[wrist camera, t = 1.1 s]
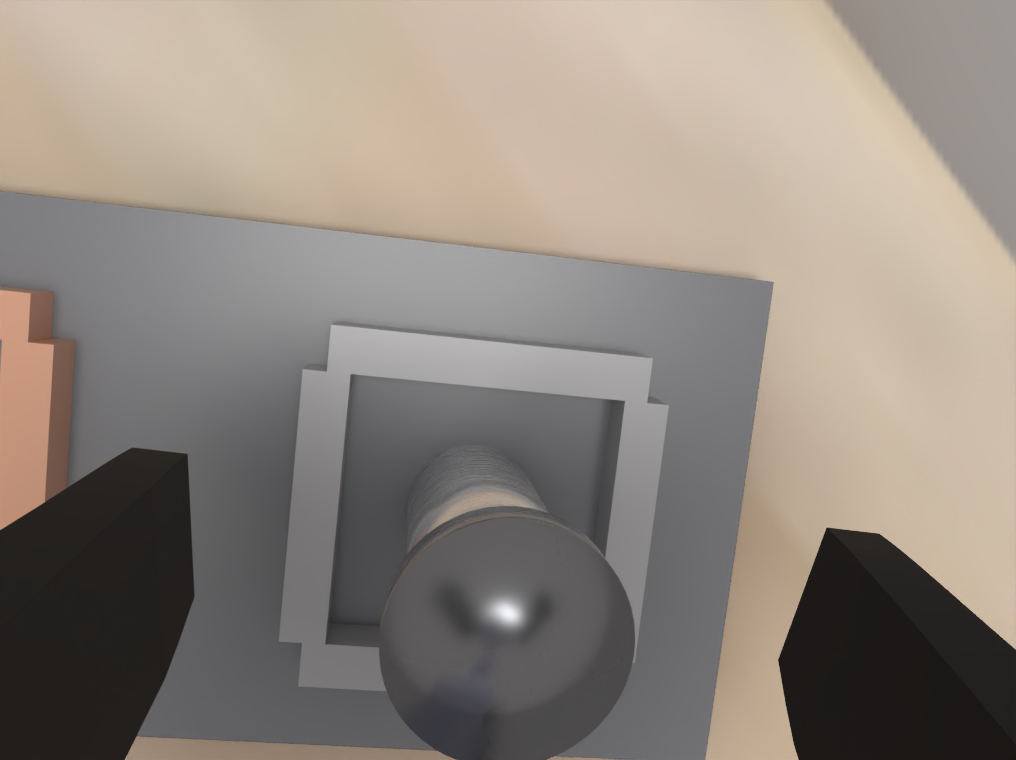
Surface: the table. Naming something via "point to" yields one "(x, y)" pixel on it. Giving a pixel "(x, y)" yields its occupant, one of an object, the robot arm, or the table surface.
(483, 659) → the pin
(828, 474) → the table surface
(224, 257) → the dock board
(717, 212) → the table surface
